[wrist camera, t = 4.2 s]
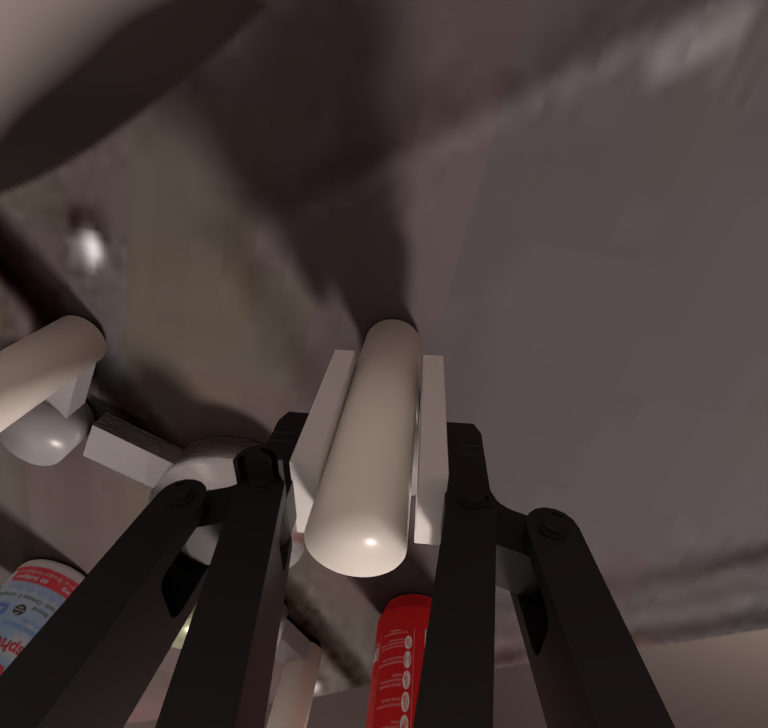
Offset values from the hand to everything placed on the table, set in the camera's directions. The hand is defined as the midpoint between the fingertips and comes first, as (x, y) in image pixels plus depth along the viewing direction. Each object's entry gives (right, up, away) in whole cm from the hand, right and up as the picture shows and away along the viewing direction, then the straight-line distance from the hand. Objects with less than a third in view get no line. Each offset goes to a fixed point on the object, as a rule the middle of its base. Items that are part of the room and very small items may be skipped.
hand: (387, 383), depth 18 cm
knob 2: (+1, -1, +4) cm, 4 cm away
